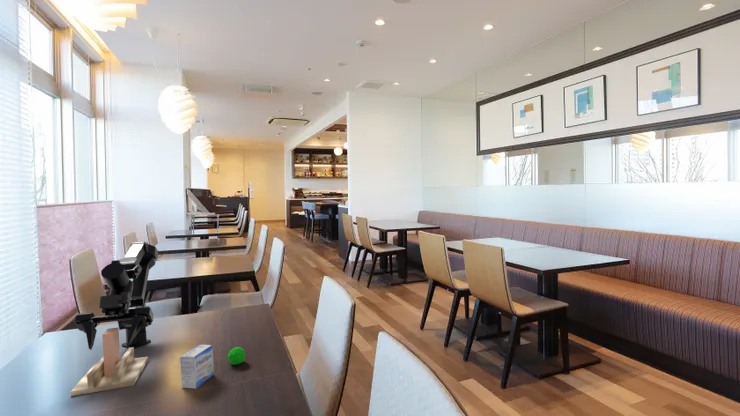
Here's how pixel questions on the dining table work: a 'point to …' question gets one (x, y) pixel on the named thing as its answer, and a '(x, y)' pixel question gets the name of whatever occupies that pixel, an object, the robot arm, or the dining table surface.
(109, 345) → the pink rectangular block
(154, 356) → the dining table surface
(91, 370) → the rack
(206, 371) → the medicine box
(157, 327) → the dining table surface
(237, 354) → the polyhedron
